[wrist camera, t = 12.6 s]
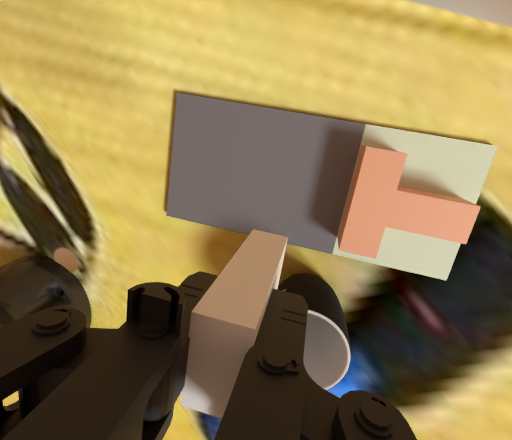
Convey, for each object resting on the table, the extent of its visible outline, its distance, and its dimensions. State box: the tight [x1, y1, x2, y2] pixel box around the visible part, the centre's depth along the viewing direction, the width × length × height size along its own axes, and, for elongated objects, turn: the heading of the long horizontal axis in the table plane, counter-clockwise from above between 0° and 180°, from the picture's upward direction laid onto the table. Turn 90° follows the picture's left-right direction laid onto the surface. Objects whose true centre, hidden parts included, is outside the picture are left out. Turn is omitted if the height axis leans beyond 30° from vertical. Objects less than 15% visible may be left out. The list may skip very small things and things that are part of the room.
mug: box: [277, 274, 351, 390], centre depth 34 cm, size 12×9×10 cm
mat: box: [166, 93, 498, 280], centre depth 34 cm, size 32×14×1 cm, turn 80°
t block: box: [337, 145, 480, 259], centre depth 30 cm, size 10×10×4 cm
